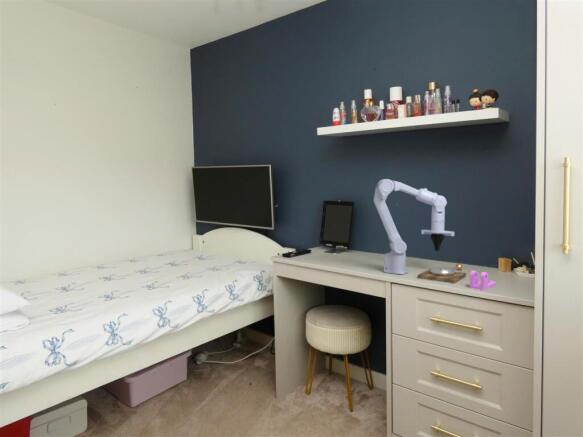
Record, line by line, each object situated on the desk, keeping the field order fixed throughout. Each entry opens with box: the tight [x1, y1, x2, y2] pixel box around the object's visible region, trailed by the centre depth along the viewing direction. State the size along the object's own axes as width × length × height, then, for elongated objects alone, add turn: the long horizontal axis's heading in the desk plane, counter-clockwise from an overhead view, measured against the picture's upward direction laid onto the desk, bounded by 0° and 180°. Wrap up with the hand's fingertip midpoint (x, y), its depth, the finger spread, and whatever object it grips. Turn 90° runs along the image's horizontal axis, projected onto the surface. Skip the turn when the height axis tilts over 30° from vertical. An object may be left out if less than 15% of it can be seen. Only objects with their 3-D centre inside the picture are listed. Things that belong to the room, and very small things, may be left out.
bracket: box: [469, 269, 496, 291], centre depth 173 cm, size 13×6×7 cm, turn 132°
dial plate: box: [417, 268, 467, 284], centre depth 190 cm, size 16×16×2 cm
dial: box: [429, 263, 463, 276], centre depth 189 cm, size 13×10×4 cm
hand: (437, 250), depth 198 cm, fingers closed
